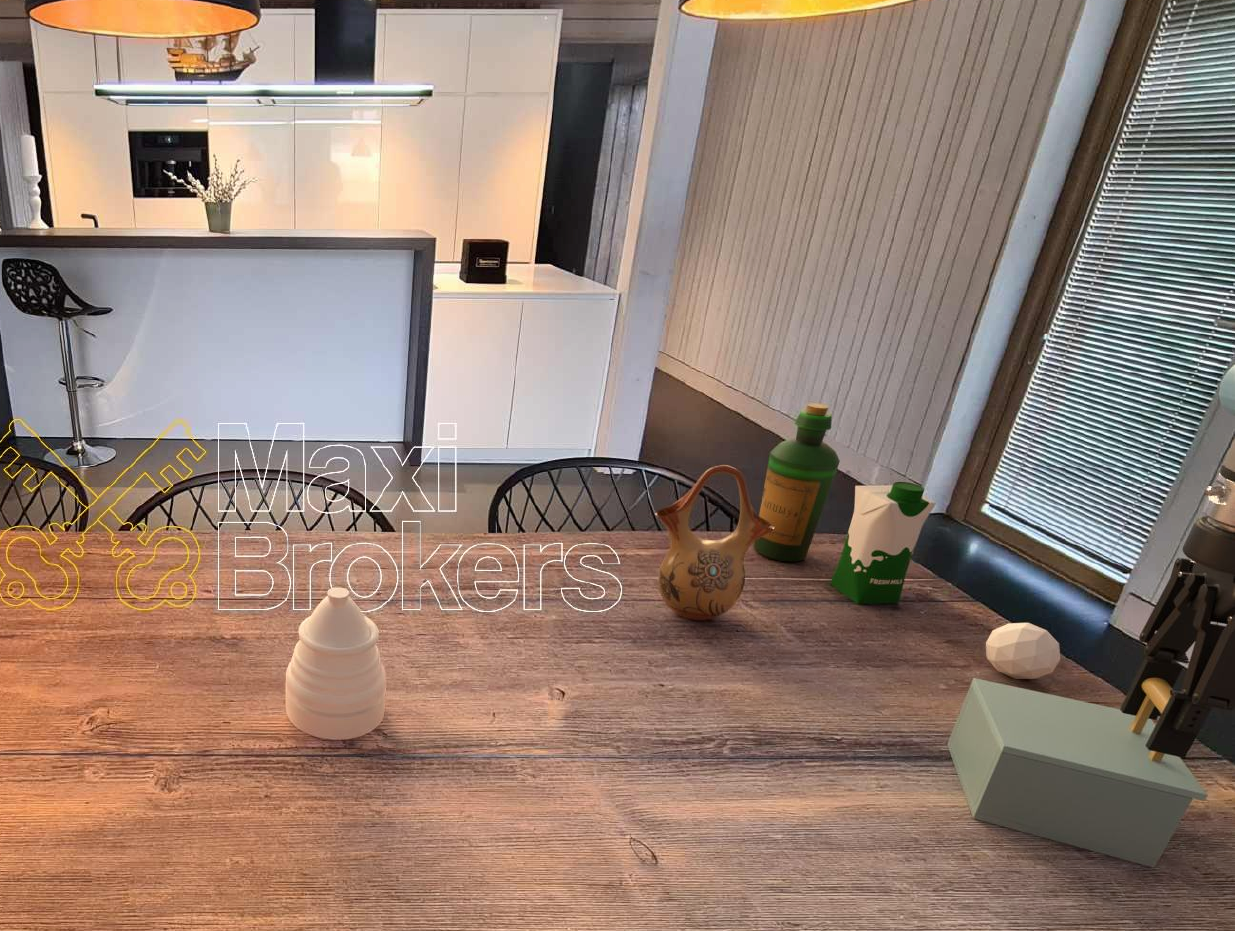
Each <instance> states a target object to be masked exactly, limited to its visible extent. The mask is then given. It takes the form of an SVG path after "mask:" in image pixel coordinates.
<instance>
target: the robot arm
mask: <svg viewBox="0 0 1235 931" xmlns="http://www.w3.org/2000/svg"><path fill="white" fill-rule="evenodd" d="M1218 391H1219V392H1218V399H1219V403H1220V405H1221V406H1222V408H1223V409H1224V410H1225V411H1226V412H1227V413H1229V414H1230V415H1232V416H1234V417H1235V364H1234V365H1232V366H1231V367H1230V368H1229V370H1227V372H1226V373H1225V374H1224V376H1223V378H1222V380H1221V382H1220V384H1219V390H1218ZM1204 494H1205V496H1207V497H1206V499H1205V502H1204V503H1203V506H1202V507H1201V512H1202V514H1204V516H1201V517H1199V518H1196V519H1195V521H1194V523H1193V524H1192V527H1191V528H1190V531H1189V533H1188V535H1187V538H1186V539H1185V542H1184V544H1183V545H1182V552H1183V554H1184V555H1185V556H1186V557H1187V558H1182V557H1177V558H1176V559H1175V561H1174V563H1173V567H1172V570H1171V574H1170V577H1169V579H1168V581H1167V582H1166V585H1165V586H1164V589H1163V591H1162V593H1161V594H1160V596H1159V599H1158V600H1157V602H1156V604H1155V606H1154V608H1153V609H1152V611H1151V613H1150V615H1149V617H1148V619H1147V621H1146V623H1145V625H1144V627H1143V628H1142V631H1141V632H1140V635H1139V637H1138V638H1139V642H1140V643H1144V644H1146V645H1145V646H1144V647H1143V654H1144V656H1146V657H1145V658H1144V659H1143V661H1142V663H1141V665H1140V667H1139V669H1138V671H1137V673H1136V675H1135V677H1134V680H1133V681H1132V683H1131V686H1130V687H1129V690H1128V691H1127V694H1126V696H1125V698H1124V699H1123V702H1122V704H1121V706H1120V708H1119V709H1120V710H1121V712H1122V713H1125V714H1129V715H1134V716H1136V715H1137V713H1138V711H1139V709H1140V707H1141V705H1142V703H1143V701H1144V699H1145V697H1146V695H1147V694H1146V693H1145V692H1144V690H1143V689H1142V683H1143V682H1144V681H1145V680H1146V679H1149V678H1161V679H1163V680H1165V681H1166V682H1167V683H1168V684H1169V685H1170V687H1171V688H1172V689H1173V688H1174V687H1175V685H1176V683H1177V680H1178V678H1179V677H1180V675H1181V673H1182V671H1183V669H1184V668H1183V666H1181V664H1179V663H1182V664H1188V665H1187V669H1186V672H1185V674H1184V679H1183V683H1182V685H1181V689H1180V691H1179V690H1174V689H1173V690H1170V695H1171V697H1170V699H1169V701H1168V702H1167V704H1166V706H1165V708H1164V710H1163V712H1162V714H1161V712H1160V711H1159V710H1158V709H1157V707H1156V706H1154V708H1153V710H1152V712H1151V714H1150V716H1149V718H1148V719H1152V721H1157V722H1156V723H1155V725H1156V726H1155V728H1154V730H1153V732H1152V734H1151V736H1150V738H1149V740H1148V741H1147V743H1146V745H1145V746H1146V747H1147V749H1148V750H1151V751H1155V752H1160V753H1164V754H1168V755H1173V756H1177V757H1180V758H1181V759H1185V758H1186V757H1187V755H1188V754H1189V751H1190V749H1191V748H1192V746H1193V744H1194V742H1195V740H1196V739H1197V736H1198V735H1199V733H1200V731H1201V729H1202V727H1203V726H1204V724H1205V722H1206V720H1207V718H1208V716H1209V715H1210V712H1211V711H1212V709H1216V710H1222V711H1226V712H1232V711H1233V710H1234V709H1235V438H1234V439H1233V441H1232V443H1231V445H1230V448H1229V450H1228V452H1227V455H1226V457H1225V458H1224V461H1223V464H1222V465H1221V468H1220V470H1219V473H1218V474H1217V476H1216V479H1215V481H1214V483H1213V485H1208V486H1206V487H1205V490H1204ZM1216 623H1217V624H1216ZM1221 624H1224V625H1221ZM1192 646H1193V648H1192V652H1191V655H1190V659H1189V657H1188V655H1187V652H1188V651H1189V650H1190V649H1191V647H1192ZM1174 662H1177V663H1174ZM1159 716H1160V717H1159ZM1158 717H1159V718H1158Z"/></svg>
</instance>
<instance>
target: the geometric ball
mask: <svg viewBox="0 0 1235 931" xmlns="http://www.w3.org/2000/svg"><path fill="white" fill-rule="evenodd" d="M985 652H986V659H987V660H988V661H989V663H990V664H991V665H992V666H993V667H994V668H995V670H996V671H997V672H999V673H1001V674H1003V675H1006V676H1008V677H1010V678H1011V679H1012V678H1013V679H1014V680H1029V679H1030V680H1031V679H1033V680H1035V679H1039V678H1042V677H1044V676H1046V675H1049V674H1052V673H1054V671H1055V669H1056V667H1057V666H1058V664H1059V662H1060V661H1061V651H1060V642H1058V641H1057V640H1056V638H1054V637H1053V636H1052V634H1051V633H1050V632H1049V631H1048V630H1047V629H1044V628H1042V627H1040V626H1037V625H1035V624H1032V623H1030V622H1012V623H1006V624H1004V625H1001V626H1000V627H996V628H994V629H993V630H992V631H991V633H990V635H989V636H988V638H987V639H986V642H985Z"/></svg>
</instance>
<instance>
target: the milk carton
mask: <svg viewBox="0 0 1235 931" xmlns="http://www.w3.org/2000/svg"><path fill="white" fill-rule="evenodd" d="M854 488H855V489H854V509H853V514H852V518H851V521H850V525H849V528H848V531H847V534H846V538H845V541H844V545H843V548H842V552H841V554H840V558H839V560H838V563H837V565H836V567H835V570H834V571H833V575H832V577H831V579H830V581H829V585H830V586H832V587H833V588H834V589H835V590H837V591H839V592H840V594H841V593H842V595H845V596H846V597H847V598H848V599H850V600H851V601H852V602H854V603H855V604H857V605H884V604H885V605H887V604H889V605H890V604H891V605H892V604H894V605H895V604H900V600H901V595H902V592H903V587H904V583H905V579H906V575H907V573H908V569H909V566H910V563H911V561H912V557H913V554H914V551H915V549H916V546H917V543H918V539H919V536H920V534H921V530H922V528H923V526H924V524H925V522H926V521H927V518H928V517H929V516H930V514H931V512H932V511H933V509H934V508H935V506H936V505H937V503H936V501H933V500H931V499H930V498H927V497H926V496H924V492H925V487H924V486H922V485H920V484H916V483H913V482H908V481H907V482H906V481H895V482H893V483H892V484H891V485H889V484H888V485H886V484H885V485H881V484H880V485H855V487H854Z"/></svg>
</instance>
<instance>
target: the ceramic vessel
mask: <svg viewBox="0 0 1235 931" xmlns="http://www.w3.org/2000/svg"><path fill="white" fill-rule="evenodd" d="M717 474H728V475H731V476H733V477H734V479H735V481H736V483H737V484H736V485H737V488H738V492H739V503H740V506H739V519H738V522H737V526H736V527H735V529H734V530H733V532H732V533H730V534H729V535H728V536H725V537H723V538H721V539H705V538H704V539H703V538H699V537H698V536H696V534H694V533H693V531H692V530H691V528H690V526H689V521H690V516H691V512H692V509H693V506H694V505H695V502H696V500H697V498H698V496H699V495H700V493H701V491H702V490H703V489H704V486H705V485H706V483H708V481H709V480H710V479H711V478H712V477H713V476H714V475H717ZM749 495H750V494H749V491H748V486H747V482H746V477H745V476H744V474H743V473H742V471H740V470H739V469H738V468H736V467H733V466H731V465H728V464H721V465H716V466H712V467H710V468H708V469H707V470H706V471H704V472H703V473H702V474H701V475H700V476H699V478H698V479H697V481H696V482H695V483H694V485H693V486H692V487H691V488H690V489H689V490H688V492H686V493H685V494H684V495H683V496H682V497H680V498H679V499H678V500H676V501H675V502H673V504H671V505H668V506H665V507H662V508H660V509H658V510H656V511H655V513H654V515H655V517H656V518H657V519H658V520H659V521H660V522H661V523H662V525H663V526H664V527H665V529H666V530H667V532H668V535H669V539H670V545H669V549H668V552H667V553H666V554H665V556H664V558H662V561H661V562H660V563H661V564H660V565H659V568H658V574H657V585H658V586H657V587H658V591H659V594H660V596H661V599H662V600H663V601H664V603H665V604H666V606H667V607H668V609H671V611H672V612H674V614H676V615H677V616H680V617H682V618H684V619H688V620H693V621H708V620H712V619H714V618H717V617H720V616H722V615H723V614H725V613H727V612H728V611H729V610H731V609H732V608H733V607H734V606H735V605H736V603H737V602H738V601H739V599H740V597H741V596H742V594H743V591H744V589H745V588H744V587H745V584H746V571H745V566H744V563H745V562H744V561H745V557H746V553H747V551H748V550H749V548H750V547H751V545H753V544H754V542H755V541H756V540H757V539H759V538H760V537H762V536H764V535H765V534H767V533H769V532H771V531H773V530H774V527H773V526H772V525H771V524H770V523H769V522H767V521H766V520H764V519H763V518H761V517H759V515H758V514H757V513H756V510H755V509H754V507H753V505H752V503H751V499H750V496H749Z"/></svg>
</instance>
